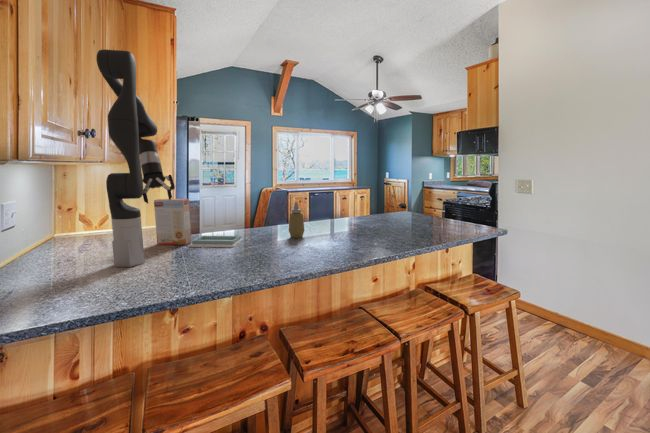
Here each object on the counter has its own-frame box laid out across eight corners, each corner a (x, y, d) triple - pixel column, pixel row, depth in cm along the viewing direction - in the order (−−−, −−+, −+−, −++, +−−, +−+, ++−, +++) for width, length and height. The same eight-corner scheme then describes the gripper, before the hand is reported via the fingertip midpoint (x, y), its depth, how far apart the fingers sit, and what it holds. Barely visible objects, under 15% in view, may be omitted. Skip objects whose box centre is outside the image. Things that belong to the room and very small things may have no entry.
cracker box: (192, 242, 160) (189, 198, 157) (185, 245, 154) (182, 199, 151) (164, 241, 161) (160, 198, 158) (156, 244, 155) (153, 199, 152)
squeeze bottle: (303, 238, 167) (303, 202, 164) (287, 238, 167) (287, 202, 165) (305, 235, 175) (304, 201, 172) (289, 235, 175) (289, 201, 173)
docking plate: (233, 247, 150) (233, 241, 149) (189, 246, 151) (189, 241, 150) (242, 240, 164) (242, 235, 163) (202, 240, 165) (202, 235, 164)
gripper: (130, 163, 136) (138, 201, 134) (168, 159, 142) (177, 195, 140) (133, 170, 143) (140, 206, 140) (169, 165, 149) (177, 200, 147)
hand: (158, 201), depth 140 cm, fingers open, 8 cm apart
